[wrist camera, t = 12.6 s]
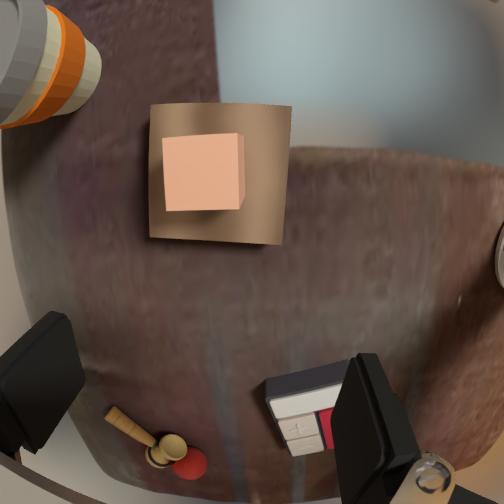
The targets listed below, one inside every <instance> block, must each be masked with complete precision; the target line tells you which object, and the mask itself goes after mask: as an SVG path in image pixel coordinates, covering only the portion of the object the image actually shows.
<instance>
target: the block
mask: <svg viewBox="0 0 504 504" xmlns="http://www.w3.org/2000/svg"><path fill="white" fill-rule="evenodd" d="M162 146H163V168H164V185H165V200H166V211H186V210H227V209H240V207H241V204H242V202H243V200H244V198H245V158H244V136H242V135H240V134H238V133H227V134H207V135H192V136H180V137H168V138H162Z"/></svg>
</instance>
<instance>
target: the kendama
mask: <svg viewBox="0 0 504 504" xmlns="http://www.w3.org/2000/svg"><path fill="white" fill-rule="evenodd" d="M104 419H105V420H106V421H108V422H109V423H111V424H113V425H114V426H116V427H117V428H119V429H120V430H122V431H123V432H125V433H126V434H129V435H130V436H131V437H133V438H134V439H136V440H138V441H140V442H142V443H143V444H146V445H148V447H147V448H146V451H145V456H146V459H147V461H148V462H149V463H150V464H151V465H152V466H154V467H156V468H165V467H168V466H169V465H171V468H172V470H173V471H174V473H175V474H176V475H177V476H179V477H181V478H183V479H187V480H194V479H198V478H200V477H201V476H202V475H203V474H204V473H205V472H206V469H207V458H206V456H205V455H204V454H203V453H202V452H201V451H200V450H199V449H197V448H194V447H188V446H187V445H186V443H185V441H184V440H183V439H182V438H181V437H179V436H178V435H175V434H168V435H166V436H164V437H162V438H161V440H160V442H158V441H157V440H156V439H154V438H153V437H152V436H151V435H150V434H149V433H147V432H146V431H145V430H144V429H142V428H141V427H140V426H139V425H137V424H135V422H133V421H132V420H131V419H130V418H129V417H127V416H126V415H125V414H124V413H122V412H121V411H120V410H119V409H118V408H117V407H116V406H113V407H112V409H111V410H110V411H109V413H108V414H107V415H106V417H105V418H104Z"/></svg>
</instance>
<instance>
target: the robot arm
mask: <svg viewBox="0 0 504 504" xmlns="http://www.w3.org/2000/svg"><path fill="white" fill-rule="evenodd" d="M495 273H496V277H497V280H498V282H499V284H500V285H501V286H502V287H503V288H504V226H503V228H502V231H501V233H500V236H499V239H498V243H497V247H496V253H495ZM84 383H85V376H84V372H83V369H82V365H81V362H80V358H79V354H78V351H77V347H76V343H75V339H74V335H73V330H72V326H71V322H70V320H69V319H68V318H67V316H66V315H65V314H62V313H58V312H54V311H50V312H49V313H47V314H46V315H45V316H44V317H43V318H42V319H41V320H39V321H38V322H37V323H36V324H35V325H34V326H33V327H32V328H31V329H29V330H28V331H27V332H26V333H25V334H24V335H23V336H22V337H21V338H20V339H19V340H18V341H17V342H15V343H14V344H13V345H12V346H11V347H10V348H9V349H8V350H7V351H6V352H5V353H4V354H3V355H2V356H1V357H0V504H106V503H103V502H100V501H98V500H95V499H93V498H90V497H88V496H85V495H83V494H81V493H78V492H76V491H73V490H71V489H69V488H67V487H65V486H62V485H60V484H58V483H56V482H54V481H52V480H50V479H48V478H46V477H44V476H42V475H40V474H38V473H36V472H34V471H33V470H31V469H29V468H27V467H25V466H24V465H22V462H21V456H20V451H19V449H20V447H21V446H23V448H24V449H26V450H28V451H29V452H31V453H33V454H36V452H37V451H38V449H41V448H42V447H43V446H44V445H45V443H46V442H47V440H48V439H49V437H50V436H51V434H52V433H53V431H54V429H55V428H56V426H57V425H58V423H59V422H60V420H61V419H62V417H63V416H64V414H65V413H66V411H67V410H68V408H69V407H70V405H71V404H72V402H73V401H74V399H75V398H76V396H77V395H78V393H79V392H80V390H81V389H82V388H83V386H84ZM330 424H331V431H332V437H333V444H334V450H335V457H336V464H337V471H338V478H339V486H340V493H341V501H342V504H498V503H496V502H494V501H492V500H490V499H487V498H485V497H482V496H480V495H478V494H476V493H474V492H471V491H469V490H467V489H465V488H463V487H461V486H459V485H456V484H455V482H456V475H455V472H454V470H453V468H452V466H451V465H450V464H449V463H448V462H446V461H445V460H443V459H441V458H437V457H425V458H422V455H421V452H420V450H419V447H418V444H417V442H416V439H415V436H414V434H413V431H412V429H411V426H410V423H409V421H408V418H407V416H406V413H405V411H404V408H403V406H402V404H401V401H400V399H399V397H398V395H397V394H396V393H393V392H392V389H391V387H390V384H389V382H388V380H387V377H386V375H385V373H384V370H383V368H382V365H381V363H380V361H379V358H378V356H377V355H376V354H375V353H359V354H357V356H356V358H351V360H350V362H349V365H348V368H347V371H346V374H345V377H344V380H343V383H342V386H341V389H340V392H339V395H338V397H337V400H336V403H335V405H334V408H333V411H332V413H331V418H330Z"/></svg>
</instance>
